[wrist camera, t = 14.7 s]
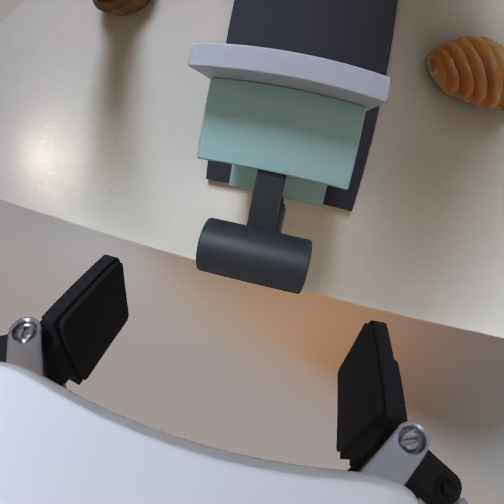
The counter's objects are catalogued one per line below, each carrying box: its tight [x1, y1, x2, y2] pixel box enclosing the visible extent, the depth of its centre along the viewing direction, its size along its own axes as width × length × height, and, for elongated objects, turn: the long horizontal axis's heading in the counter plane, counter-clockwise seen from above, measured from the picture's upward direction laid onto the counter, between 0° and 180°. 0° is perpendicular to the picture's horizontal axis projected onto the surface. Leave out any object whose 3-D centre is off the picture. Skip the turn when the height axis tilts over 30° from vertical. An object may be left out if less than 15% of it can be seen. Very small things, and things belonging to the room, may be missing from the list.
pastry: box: [427, 36, 504, 110], centre depth 15 cm, size 9×7×4 cm
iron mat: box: [206, 0, 397, 211], centre depth 19 cm, size 24×13×1 cm, turn 171°
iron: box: [188, 42, 391, 294], centre depth 16 cm, size 14×7×10 cm
